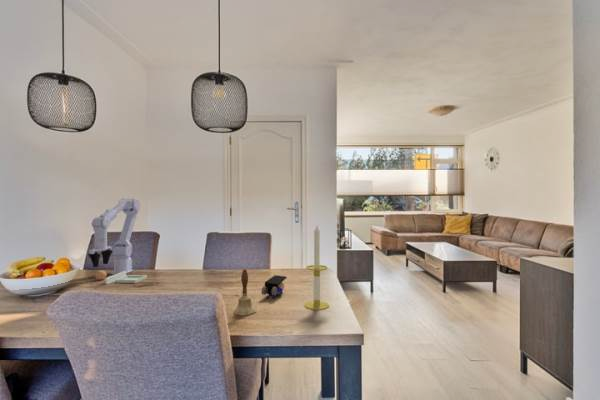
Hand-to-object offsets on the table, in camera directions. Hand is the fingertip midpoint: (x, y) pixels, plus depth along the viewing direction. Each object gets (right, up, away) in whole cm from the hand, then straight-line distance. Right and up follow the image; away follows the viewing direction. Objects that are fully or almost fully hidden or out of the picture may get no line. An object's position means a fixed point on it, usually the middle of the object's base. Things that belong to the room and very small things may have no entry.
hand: (100, 265), depth 172 cm
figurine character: (+94, -8, -28) cm, 99 cm away
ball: (0, -8, 0) cm, 8 cm away
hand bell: (+85, -8, -49) cm, 98 cm away
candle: (+112, -8, -42) cm, 120 cm away
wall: (+9, -8, 0) cm, 11 cm away
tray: (+17, -8, -1) cm, 19 cm away
